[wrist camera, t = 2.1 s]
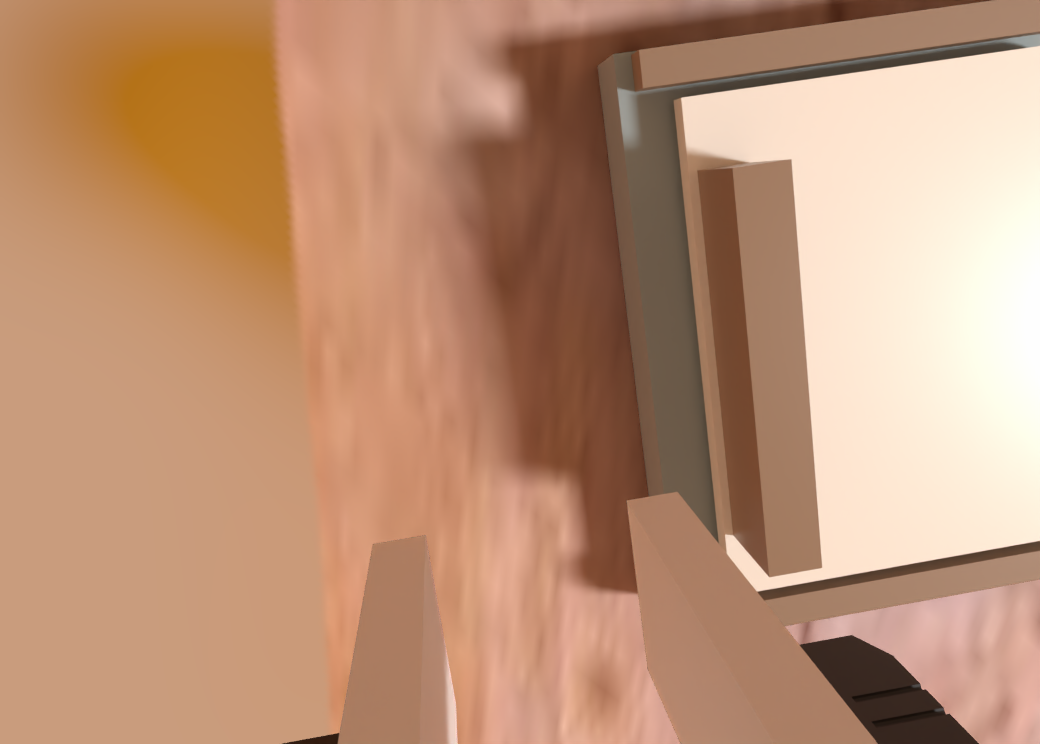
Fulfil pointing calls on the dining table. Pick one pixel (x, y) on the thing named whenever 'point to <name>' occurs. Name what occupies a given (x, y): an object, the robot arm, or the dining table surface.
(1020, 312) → the slide cover
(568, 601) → the dining table surface
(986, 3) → the sliding lid box
